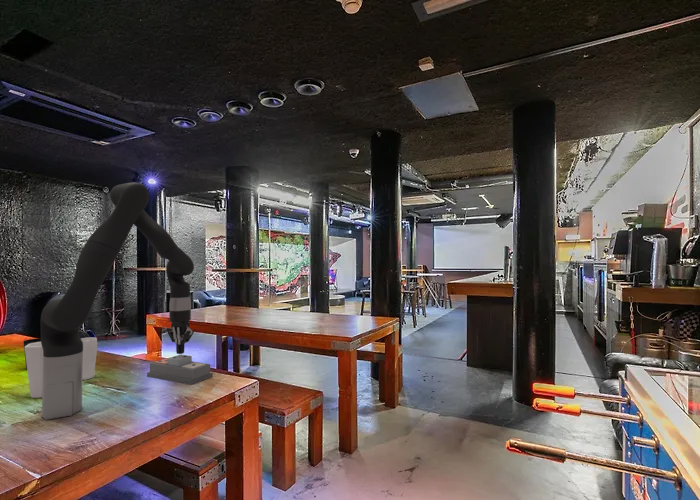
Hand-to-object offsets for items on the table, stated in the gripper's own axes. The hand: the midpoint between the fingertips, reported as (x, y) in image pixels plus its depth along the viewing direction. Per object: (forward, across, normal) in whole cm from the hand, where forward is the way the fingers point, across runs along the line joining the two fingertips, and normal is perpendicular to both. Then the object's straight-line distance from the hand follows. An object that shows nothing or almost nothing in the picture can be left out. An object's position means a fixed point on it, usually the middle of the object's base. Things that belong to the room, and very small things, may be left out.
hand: (180, 353), depth 138 cm
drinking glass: (+9, +32, +16) cm, 37 cm away
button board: (+9, 0, 0) cm, 9 cm away
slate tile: (+5, 0, 0) cm, 5 cm away
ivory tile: (+7, -8, 0) cm, 10 cm away
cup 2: (+9, +26, +32) cm, 42 cm away
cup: (+9, +68, +17) cm, 70 cm away
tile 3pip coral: (+7, +8, 0) cm, 10 cm away
